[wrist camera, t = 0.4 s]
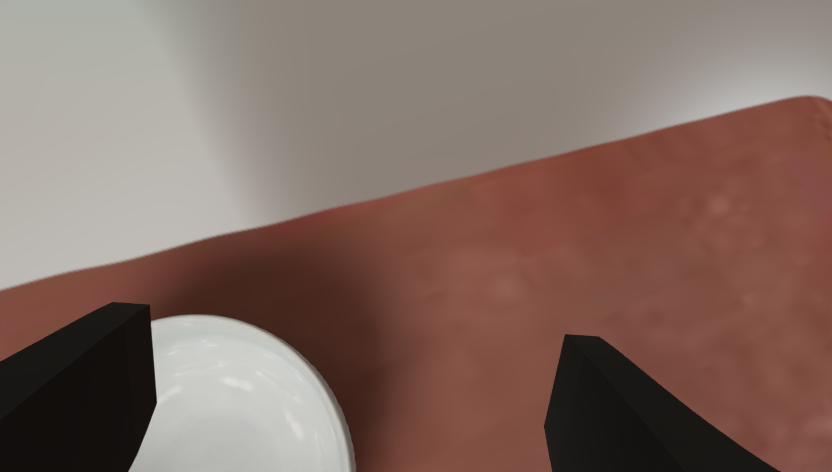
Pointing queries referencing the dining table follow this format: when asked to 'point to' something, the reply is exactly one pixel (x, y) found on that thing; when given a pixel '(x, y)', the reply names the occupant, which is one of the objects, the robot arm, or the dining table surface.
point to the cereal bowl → (238, 403)
